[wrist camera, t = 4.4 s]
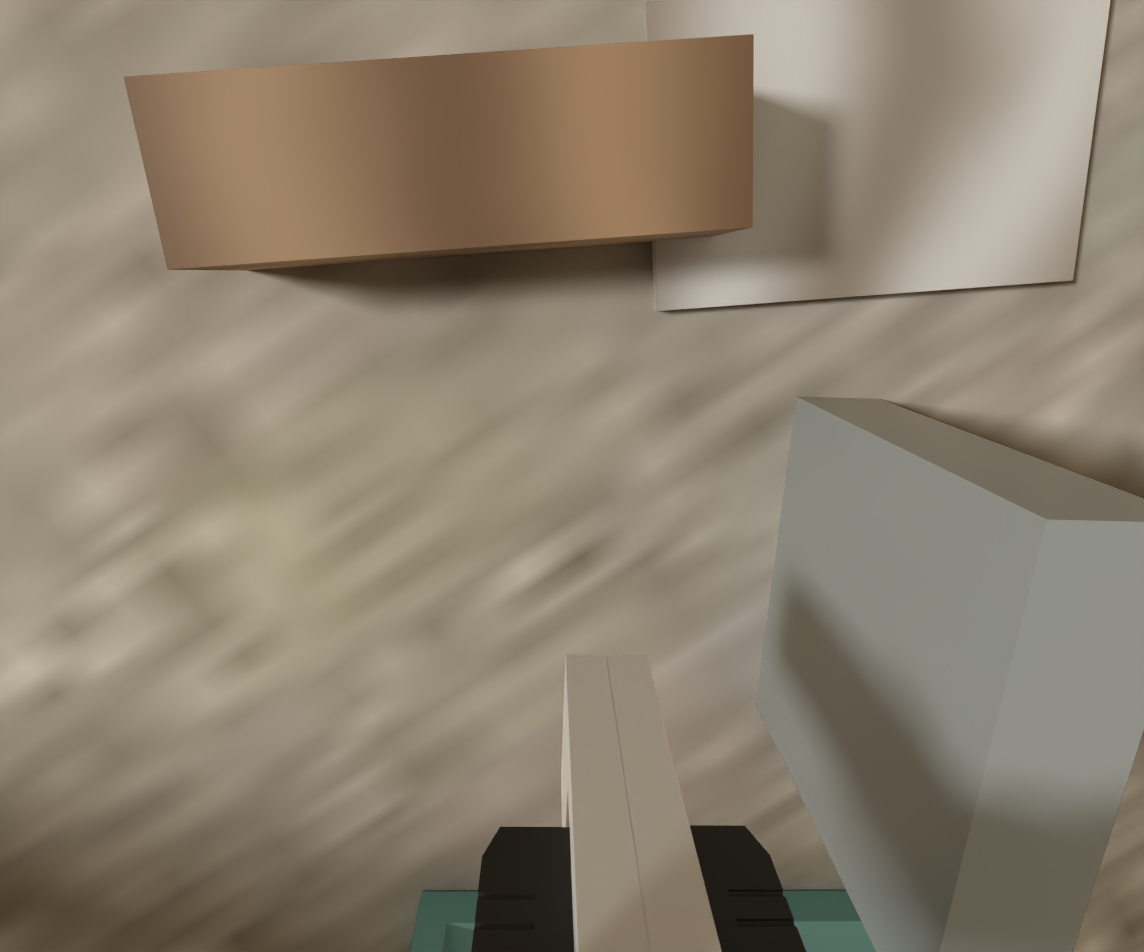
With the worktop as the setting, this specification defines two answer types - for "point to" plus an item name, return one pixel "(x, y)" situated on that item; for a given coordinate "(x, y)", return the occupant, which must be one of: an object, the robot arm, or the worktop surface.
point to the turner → (662, 150)
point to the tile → (953, 674)
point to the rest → (819, 915)
